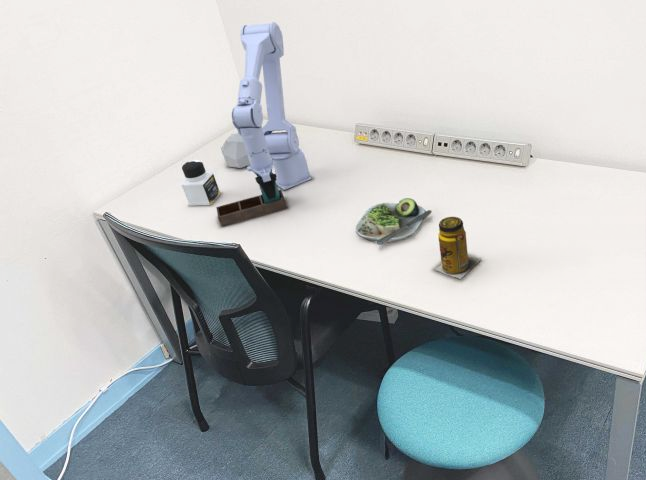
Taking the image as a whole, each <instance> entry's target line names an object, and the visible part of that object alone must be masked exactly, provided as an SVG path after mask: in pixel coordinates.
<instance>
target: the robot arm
mask: <svg viewBox="0 0 646 480" xmlns="http://www.w3.org/2000/svg"><path fill="white" fill-rule="evenodd" d="M239 36H240V41H241V44H242V47H243V49H244V51H245V61H244V62H245V63H244V64H245V65H244V77H243V78H241V79H240V81H239V85H238V86H239V87H238V94H237V101H236V102H237V103H236V106H235V107H233V108H232V110H231V119H232V121H231V122H232V125H233V127H234V128H235V129H236V130H237V133H239V135H241V136H242V139H243V142H244V145H245V148H246V152H247V155H248V158H249V161H250V164H251V165H248V166H246V169H247V172H253V174H255V176H256V177H254V179H255V182H256V183H257V184H258V186H259V185H260V186H261V187H262V189H263V190H264V192H265V194H266V196H267V198H268V199H269V200H270V199H274V198H276V190H275V182H276V184H277V187H279V188H280V189H281V190H283V191H285V190H288V189H291V188H293V187H296V186H298V185H300V184H303V183H306V182H308V181H310V180H312V177H311V174H310V169H309V166H308V162H307V158H306V156H305V154H304V152H303V150H302V149H301V148H300V141H299V137H298V134H297V128H296V126H295V125H294V124H292V123H291V122H290V121H288V120H286V112H285V111H286V110H285V100H284V91H283V81H282V80H283V79H282V69H281V58H282V57H283V56H284V55H285V54H284V53H285V52H284V51H285V48H284V38H283V32H282V29H281V27H280V26H279V25H278V24H277V23H276V21H275V22H269V23H261V24H260V23H259V24H250V25H247V24H245V25H242V26H241V28H240V35H239ZM261 72H262V76H263V84H264V94H265V104H266V114H267V122H266V123H265V124H264V125H263V122H264V115H263V106H262V104H261V100H262V92H263V84H262V81H260V76H261ZM280 131H281V132H280ZM273 170H274V173H273ZM270 172H272V173H273V174H272V175H270ZM258 175H260V176H259V177H257V176H258ZM260 186H259V187H260Z"/></svg>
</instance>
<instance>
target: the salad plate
mask: <svg viewBox="0 0 646 480" xmlns="http://www.w3.org/2000/svg"><path fill="white" fill-rule="evenodd" d="M398 202H399V203H397V202H395V203H394V202H381V203H376V204H374V205H371V206H370V207H369V208H368V209H367V210H366V211H365V212H364V214H362V217H361V218H360V220H359V221H358V222H357V224H356V226H355V232H356V234H357V235H358V236H359V237H361V238H363V239H365V240H368V241H370V242H376V245H379V246H381V245H384V244H386V243H391V242H394V241H398V240H399V241H400V240H403V239H405V238H408V237H411V236H413V235H414V234H415V232H416V231H417V230H418V229H419V227H420V225H421V224H422V222H423V221H424V220H425V219H426V218H428V216H430V215H431V214H432V210H429V209H428V210H425V209H424V208H423V207H422V206H420V205H418V204H417V202H416V200H414V199H413V198H410V197H405V198H402V199H400V200H399V201H398Z"/></svg>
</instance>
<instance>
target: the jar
mask: <svg viewBox="0 0 646 480" xmlns="http://www.w3.org/2000/svg"><path fill="white" fill-rule="evenodd" d="M272 174H274V172H273V171H272V172H270V175H272ZM259 176H260V175H258V176H257V175H256V177H259ZM258 186H259V190H260V192H261V193H260V194H261V195H262V196H263V199H264V202H265V204H266V203H270V202H274V201H277V200H281V198H280V194H279V191H278V190H279V188H278V187H279V186H278V185H277V184H276V182H275V190H276V198H274V199H270V200H269V199H268V198H267V196H266V194H265V192H264V190H263V189H262V187H261V186H260V185H259V184H258Z"/></svg>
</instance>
